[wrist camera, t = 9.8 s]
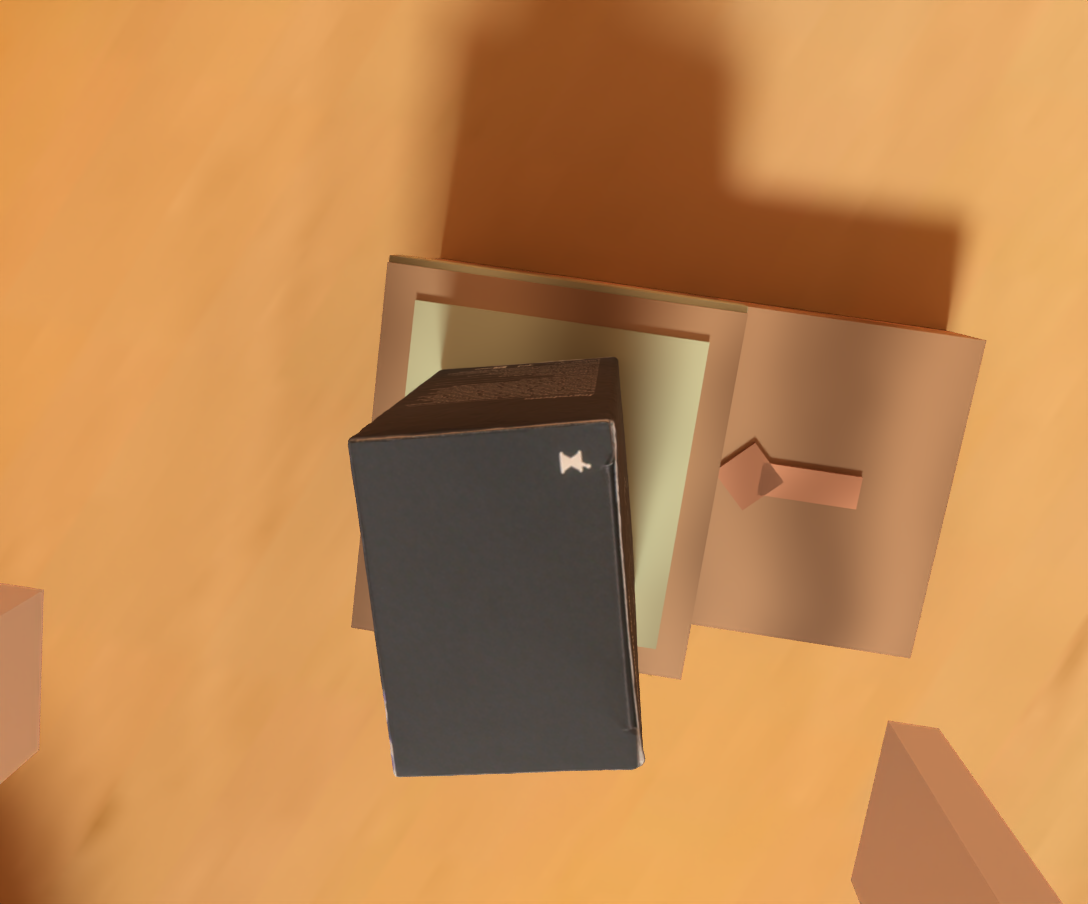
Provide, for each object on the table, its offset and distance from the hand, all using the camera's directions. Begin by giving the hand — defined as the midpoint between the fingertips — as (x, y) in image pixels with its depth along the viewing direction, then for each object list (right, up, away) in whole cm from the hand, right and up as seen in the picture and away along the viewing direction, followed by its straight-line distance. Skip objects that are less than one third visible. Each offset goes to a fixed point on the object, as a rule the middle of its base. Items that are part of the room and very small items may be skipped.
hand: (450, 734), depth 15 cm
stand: (+6, +5, +24) cm, 25 cm away
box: (+1, +3, +15) cm, 16 cm away
